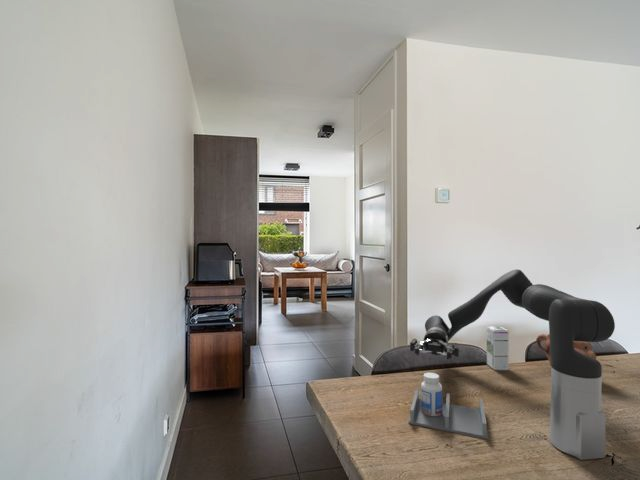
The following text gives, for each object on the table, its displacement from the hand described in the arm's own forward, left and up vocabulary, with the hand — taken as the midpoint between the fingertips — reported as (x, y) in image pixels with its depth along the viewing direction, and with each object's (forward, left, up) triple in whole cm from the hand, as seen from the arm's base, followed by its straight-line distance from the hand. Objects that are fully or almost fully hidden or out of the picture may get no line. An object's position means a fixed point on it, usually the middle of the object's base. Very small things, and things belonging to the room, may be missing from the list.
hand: (432, 353), depth 103 cm
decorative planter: (+13, -56, -13) cm, 59 cm away
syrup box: (+21, -36, -13) cm, 43 cm away
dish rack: (-11, +1, -13) cm, 17 cm away
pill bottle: (-9, +5, -13) cm, 16 cm away
